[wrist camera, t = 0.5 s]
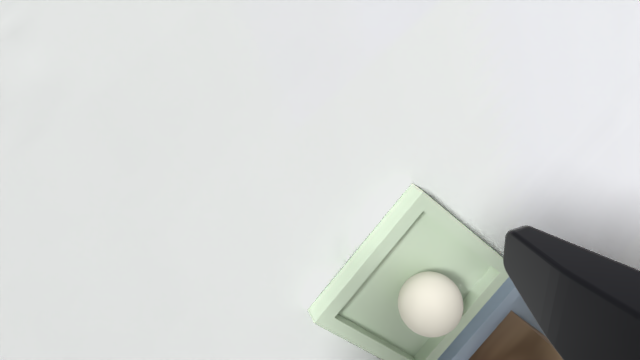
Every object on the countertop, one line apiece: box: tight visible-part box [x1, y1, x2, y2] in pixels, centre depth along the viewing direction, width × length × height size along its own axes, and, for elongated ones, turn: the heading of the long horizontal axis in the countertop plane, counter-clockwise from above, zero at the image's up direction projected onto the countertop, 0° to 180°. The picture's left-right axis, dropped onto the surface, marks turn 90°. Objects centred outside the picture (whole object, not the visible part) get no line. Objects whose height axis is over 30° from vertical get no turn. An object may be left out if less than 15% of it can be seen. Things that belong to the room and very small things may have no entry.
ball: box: [398, 271, 463, 337], centre depth 26 cm, size 4×4×4 cm
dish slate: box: [437, 277, 545, 360], centre depth 32 cm, size 9×9×1 cm
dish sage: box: [308, 183, 509, 360], centre depth 28 cm, size 9×9×1 cm
